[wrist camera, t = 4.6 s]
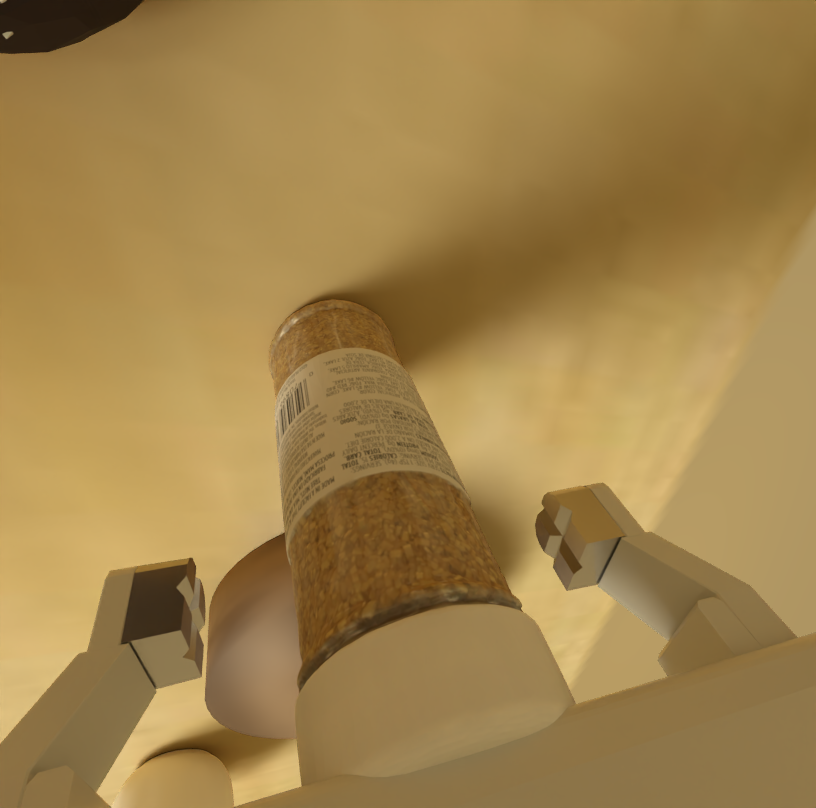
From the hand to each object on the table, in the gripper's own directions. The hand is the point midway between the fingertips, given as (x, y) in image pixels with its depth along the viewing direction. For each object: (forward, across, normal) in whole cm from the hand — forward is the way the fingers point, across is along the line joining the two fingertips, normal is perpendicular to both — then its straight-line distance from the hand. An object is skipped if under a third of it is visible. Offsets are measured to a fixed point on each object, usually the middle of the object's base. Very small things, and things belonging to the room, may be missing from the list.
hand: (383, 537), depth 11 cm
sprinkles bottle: (+9, 0, 0) cm, 9 cm away
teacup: (+9, +12, +33) cm, 36 cm away
